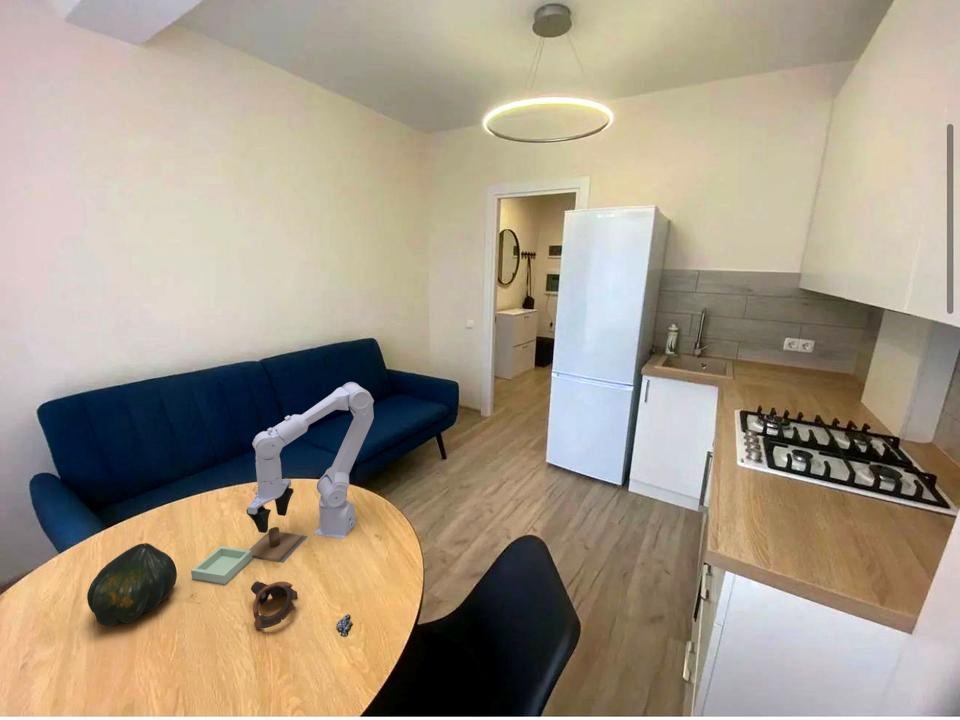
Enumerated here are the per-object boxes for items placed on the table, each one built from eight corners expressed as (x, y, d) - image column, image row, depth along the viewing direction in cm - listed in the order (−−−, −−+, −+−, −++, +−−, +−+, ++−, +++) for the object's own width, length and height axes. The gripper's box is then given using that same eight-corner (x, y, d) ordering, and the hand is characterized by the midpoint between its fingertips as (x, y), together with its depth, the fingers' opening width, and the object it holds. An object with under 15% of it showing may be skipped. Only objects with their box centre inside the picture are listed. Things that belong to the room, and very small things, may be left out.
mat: (308, 537, 112) (308, 536, 112) (283, 564, 101) (283, 562, 101) (270, 531, 114) (270, 530, 114) (241, 557, 103) (241, 556, 103)
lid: (302, 537, 111) (301, 521, 110) (279, 562, 101) (278, 544, 100) (270, 533, 113) (269, 517, 112) (245, 556, 103) (243, 539, 102)
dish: (252, 560, 102) (251, 550, 102) (225, 586, 93) (224, 575, 93) (222, 555, 103) (220, 545, 103) (192, 581, 95) (190, 570, 94)
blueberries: (362, 611, 89) (362, 603, 89) (365, 638, 82) (364, 630, 81) (330, 619, 87) (330, 611, 86) (330, 648, 79) (330, 640, 79)
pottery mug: (311, 600, 91) (304, 587, 86) (280, 644, 84) (271, 634, 79) (270, 576, 94) (261, 563, 88) (237, 618, 87) (225, 606, 82)
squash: (52, 622, 77) (106, 562, 77) (101, 570, 91) (147, 520, 92) (123, 651, 81) (174, 594, 82) (160, 598, 95) (203, 550, 96)
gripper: (274, 462, 110) (277, 506, 113) (234, 489, 96) (239, 537, 99) (296, 465, 109) (299, 509, 112) (260, 492, 95) (264, 541, 98)
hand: (272, 523), depth 105 cm, fingers open, 7 cm apart
